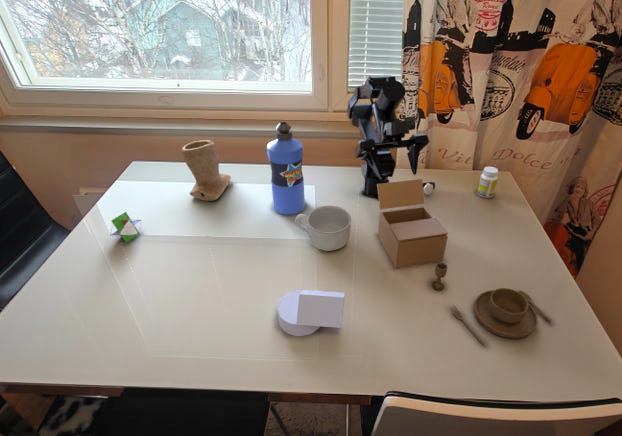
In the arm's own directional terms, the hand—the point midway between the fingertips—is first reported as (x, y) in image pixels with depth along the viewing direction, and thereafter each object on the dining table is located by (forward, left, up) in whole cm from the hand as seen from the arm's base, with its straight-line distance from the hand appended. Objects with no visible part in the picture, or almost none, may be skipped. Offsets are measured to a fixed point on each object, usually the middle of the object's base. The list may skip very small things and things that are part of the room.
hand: (398, 176), depth 99 cm
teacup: (-12, -17, -14) cm, 25 cm away
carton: (+8, -9, -14) cm, 18 cm away
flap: (+2, -3, -3) cm, 5 cm away
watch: (+3, +19, -14) cm, 24 cm away
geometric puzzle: (-57, -39, -14) cm, 71 cm away
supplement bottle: (+20, +27, -14) cm, 36 cm away
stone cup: (-56, -11, -14) cm, 59 cm away
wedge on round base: (-2, -40, -14) cm, 43 cm away
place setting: (+29, -19, -14) cm, 37 cm away
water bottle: (-29, -7, -14) cm, 33 cm away
